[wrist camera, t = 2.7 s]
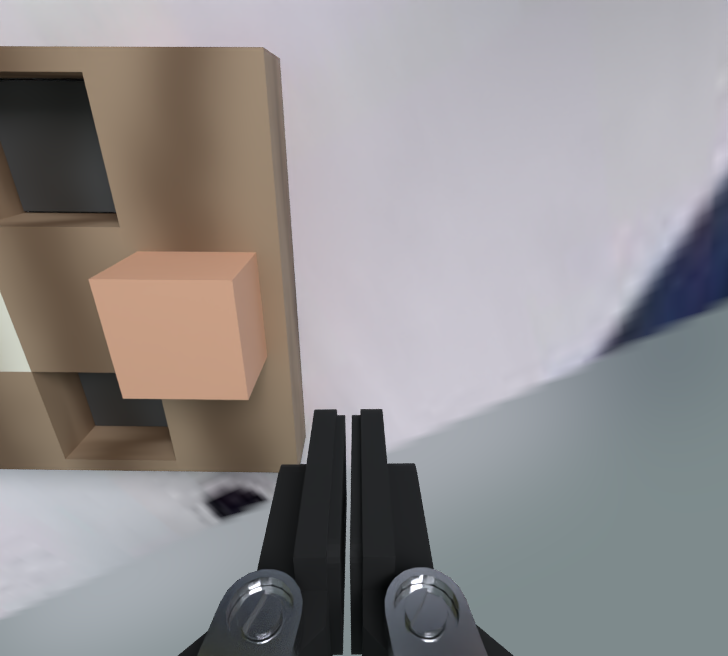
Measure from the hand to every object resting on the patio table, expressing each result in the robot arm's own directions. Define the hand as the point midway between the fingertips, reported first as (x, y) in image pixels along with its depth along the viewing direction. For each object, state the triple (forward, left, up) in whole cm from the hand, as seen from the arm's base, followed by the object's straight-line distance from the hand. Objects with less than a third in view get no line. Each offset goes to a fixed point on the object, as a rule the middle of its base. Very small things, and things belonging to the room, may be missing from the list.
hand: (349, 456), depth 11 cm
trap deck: (+13, 0, -12) cm, 18 cm away
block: (+7, 0, -9) cm, 11 cm away
